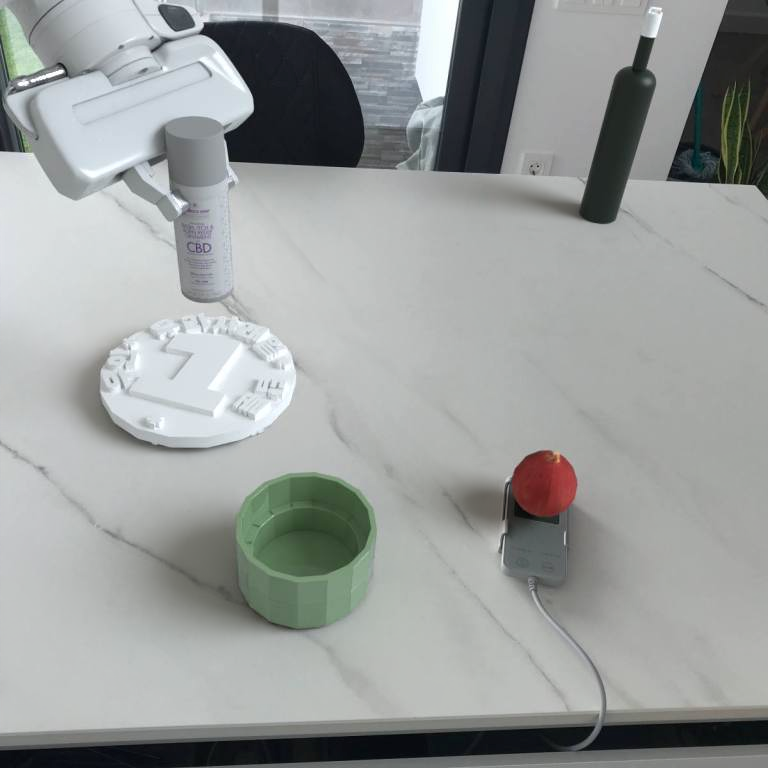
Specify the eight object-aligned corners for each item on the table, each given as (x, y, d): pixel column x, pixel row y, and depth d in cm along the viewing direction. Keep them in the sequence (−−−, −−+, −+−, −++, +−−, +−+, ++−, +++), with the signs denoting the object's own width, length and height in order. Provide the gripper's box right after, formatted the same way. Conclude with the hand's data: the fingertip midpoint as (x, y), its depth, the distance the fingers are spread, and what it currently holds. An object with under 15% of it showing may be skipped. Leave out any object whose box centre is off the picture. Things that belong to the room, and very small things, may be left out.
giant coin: (62, 393, 80) (56, 370, 78) (202, 312, 93) (200, 291, 91) (199, 485, 72) (197, 463, 70) (332, 382, 85) (333, 361, 83)
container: (190, 308, 67) (173, 142, 58) (174, 280, 70) (155, 119, 61) (241, 297, 69) (233, 135, 60) (223, 270, 72) (213, 112, 63)
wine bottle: (595, 226, 118) (654, 15, 99) (571, 209, 122) (624, 3, 102) (623, 220, 120) (687, 13, 101) (599, 203, 124) (656, 1, 105)
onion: (493, 498, 73) (508, 438, 68) (542, 481, 76) (560, 420, 71) (528, 543, 70) (547, 482, 64) (579, 523, 72) (601, 463, 67)
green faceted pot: (313, 657, 59) (314, 607, 55) (211, 580, 64) (205, 530, 60) (396, 566, 66) (403, 516, 62) (299, 503, 71) (299, 453, 67)
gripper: (2, 60, 52) (128, 236, 55) (208, 3, 66) (300, 145, 69) (-25, 108, 56) (94, 268, 59) (173, 45, 70) (261, 177, 73)
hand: (206, 202), depth 64 cm, fingers closed on container, 4 cm apart
